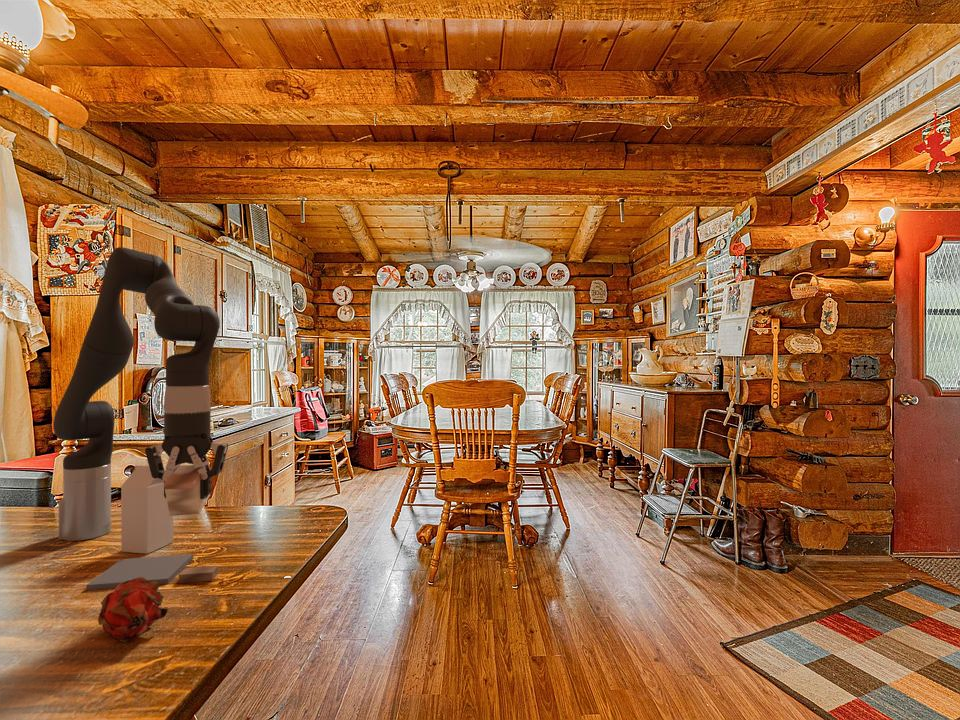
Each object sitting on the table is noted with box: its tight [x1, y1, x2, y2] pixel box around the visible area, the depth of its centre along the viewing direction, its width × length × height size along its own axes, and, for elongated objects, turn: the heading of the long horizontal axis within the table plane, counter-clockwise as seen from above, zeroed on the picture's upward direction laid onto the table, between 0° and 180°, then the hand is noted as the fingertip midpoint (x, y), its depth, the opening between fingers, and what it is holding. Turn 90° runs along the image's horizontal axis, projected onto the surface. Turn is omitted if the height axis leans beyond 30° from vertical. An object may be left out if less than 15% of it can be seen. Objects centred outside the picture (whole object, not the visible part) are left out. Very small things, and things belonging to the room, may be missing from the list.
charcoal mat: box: [85, 553, 194, 591], centre depth 97 cm, size 14×12×1 cm
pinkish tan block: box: [164, 464, 211, 517], centre depth 90 cm, size 5×8×9 cm, turn 11°
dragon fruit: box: [97, 577, 169, 643], centre depth 76 cm, size 8×8×12 cm
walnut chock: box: [178, 565, 219, 584], centre depth 94 cm, size 6×3×2 cm, turn 101°
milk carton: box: [120, 464, 174, 555], centre depth 110 cm, size 7×7×19 cm
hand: (187, 498), depth 90 cm, fingers closed on pinkish tan block, 5 cm apart
